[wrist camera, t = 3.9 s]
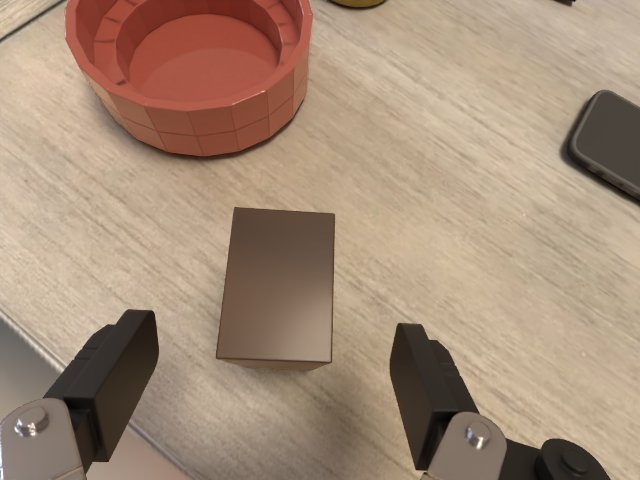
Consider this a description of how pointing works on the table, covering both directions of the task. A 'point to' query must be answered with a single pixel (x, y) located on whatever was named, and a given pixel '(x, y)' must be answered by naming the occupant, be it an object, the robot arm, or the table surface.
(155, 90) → the bowl
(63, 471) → the robot arm
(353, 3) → the brass weight
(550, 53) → the table surface
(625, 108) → the smartphone
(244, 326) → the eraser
